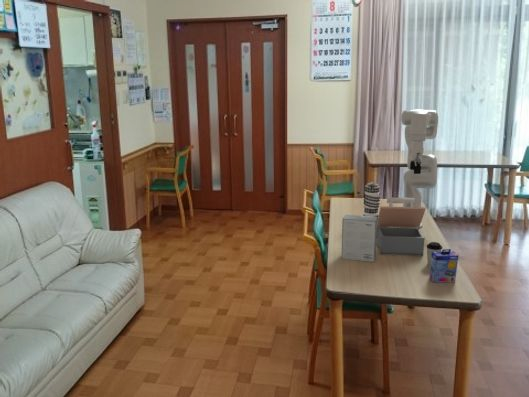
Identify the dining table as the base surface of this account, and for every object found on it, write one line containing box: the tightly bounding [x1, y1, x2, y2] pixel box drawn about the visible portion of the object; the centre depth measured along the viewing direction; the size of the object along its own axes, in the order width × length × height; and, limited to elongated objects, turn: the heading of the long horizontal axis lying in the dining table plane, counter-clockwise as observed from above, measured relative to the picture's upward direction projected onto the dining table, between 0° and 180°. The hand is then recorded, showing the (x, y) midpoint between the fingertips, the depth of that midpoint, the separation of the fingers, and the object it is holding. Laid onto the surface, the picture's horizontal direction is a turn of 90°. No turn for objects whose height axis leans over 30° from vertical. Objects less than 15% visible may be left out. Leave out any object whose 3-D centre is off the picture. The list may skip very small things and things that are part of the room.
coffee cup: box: [426, 241, 443, 267], centre depth 231 cm, size 7×7×10 cm
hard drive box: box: [341, 214, 377, 263], centre depth 238 cm, size 16×8×20 cm, turn 71°
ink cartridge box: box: [429, 248, 459, 283], centre depth 214 cm, size 10×6×14 cm, turn 95°
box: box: [376, 227, 425, 257], centre depth 250 cm, size 15×20×9 cm
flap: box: [377, 197, 427, 229], centre depth 252 cm, size 16×21×8 cm
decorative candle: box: [362, 181, 381, 221], centre depth 283 cm, size 9×9×25 cm
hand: (415, 171), depth 255 cm, fingers open, 9 cm apart
